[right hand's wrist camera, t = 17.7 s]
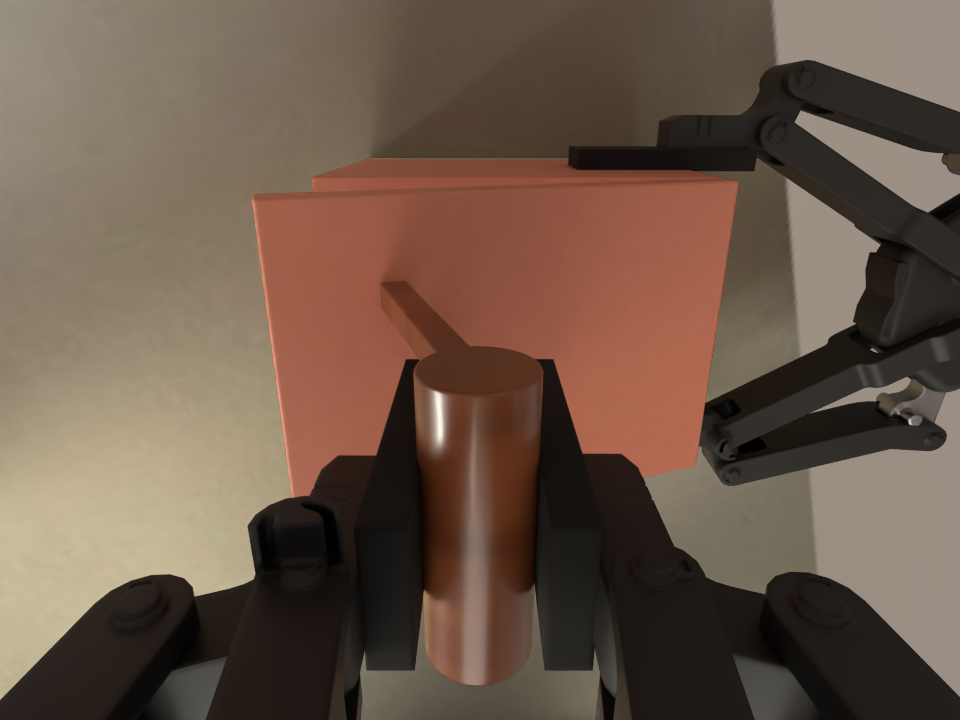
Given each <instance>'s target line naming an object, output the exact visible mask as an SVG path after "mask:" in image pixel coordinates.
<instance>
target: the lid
mask: <svg viewBox="0 0 960 720" xmlns="http://www.w3.org/2000/svg"><path fill="white" fill-rule="evenodd" d="M738 185H739V182H738V181H736V180H730V179H721V178H703V179H674V180H645V181H616V182H588V183H559V184H530V185H501V186H473V187H444V188H415V189H386V190H358V191H329V192H300V193H271V194H254V195H253V196H252V205H253V213H254V220H255V227H256V235H257V242H258V250H259V257H260V264H261V272H262V279H263V287H264V294H265V302H266V309H267V316H268V324H269V331H270V339H271V346H272V354H273V361H274V368H275V376H276V383H277V391H278V398H279V406H280V413H281V420H282V428H283V435H284V443H285V450H286V458H287V465H288V472H289V480H290V487H291V495H292V498H294V497H300V496H310V493H311V491H312V489H314V485H315V482H316V480H317V478H318V476H319V474H320V471H321V469H322V468H324V467H325V466H326V465H327V464H328V463H330V462H331V461H332V460H333V459H334V458H336V457H337V456H338V455H376V454H377V451H378V448H379V445H380V441H381V438H382V435H383V432H384V428H385V425H386V422H387V419H388V415H389V412H390V409H391V406H392V402H393V399H394V396H395V393H396V389H397V386H398V383H399V380H400V377H401V373H402V370H403V367H404V364H405V360H406V359H419V360H420V361H419V362H418V363H417V365H416V366H415V368H414V372H413V377H414V400H415V423H416V446H417V460H418V462H419V483H420V507H421V530H422V553H423V577H424V595H423V608H424V631H425V648H426V652H427V655H428V657H429V660H430V661H431V663H432V664H433V666H434V667H435V668H436V669H437V670H438V671H439V672H440V673H441V674H442V675H444V676H445V677H447V678H449V679H451V680H453V681H455V682H458V683H461V684H465V685H471V686H486V685H492V684H496V683H499V682H502V681H504V680H506V679H508V678H510V677H511V676H513V675H514V674H516V673H517V672H518V671H519V670H520V669H521V668H522V666H523V665H524V664H525V662H526V661H527V659H528V657H529V655H530V652H531V647H532V626H533V603H534V579H535V556H536V532H537V509H538V485H539V462H540V439H541V415H542V392H543V369H542V367H541V365H540V363H539V362H538V361H537V360H535V359H554V362H555V366H556V369H557V372H558V375H559V379H560V382H561V385H562V388H563V392H564V395H565V398H566V401H567V405H568V408H569V411H570V414H571V418H572V421H573V424H574V427H575V430H576V434H577V437H578V440H579V443H580V447H581V450H582V453H583V454H623V455H624V456H625V457H626V458H627V459H629V460H630V461H631V462H632V463H633V464H635V465H636V466H637V467H638V468H639V470H640V473H641V475H642V477H647V476H651V475H656V474H661V473H665V472H670V471H675V470H679V469H684V468H689V467H693V466H695V465H696V460H697V454H698V447H699V441H700V434H701V428H702V421H703V414H704V408H705V401H706V395H707V388H708V382H709V375H710V369H711V362H712V356H713V349H714V342H715V336H716V329H717V323H718V316H719V310H720V303H721V297H722V290H723V284H724V277H725V270H726V264H727V257H728V251H729V244H730V238H731V231H732V225H733V218H734V212H735V205H736V198H737V192H738Z"/></svg>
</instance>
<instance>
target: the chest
mask: <svg viewBox="0 0 960 720" xmlns="http://www.w3.org/2000/svg"><path fill="white" fill-rule="evenodd" d="M703 178H720V177H716V176H712V175H707V174H703V173H699V172H695V171H690V170H577V169H575V168H573V167H571V166H569V165H568V158H368V159H366V160H364V161H361V162H358V163H355V164H352V165H349V166H345V167H342V168H339V169H336V170H333V171H330V172H327V173H324V174H321V175H318V176H315V177H312V185H313V192H329V191H358V190H386V189H415V188H444V187H473V186H501V185H530V184H559V183H588V182H616V181H645V180H674V179H703Z"/></svg>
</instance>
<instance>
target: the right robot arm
mask: <svg viewBox="0 0 960 720" xmlns="http://www.w3.org/2000/svg"><path fill="white" fill-rule="evenodd" d="M535 360H537V361H538V362H539V363H540V365H541V367H542V369H543V392H542V415H541V439H540V462H539V485H538V509H537V532H536V556H535V579H534V583H535V592H536V600H537V609H538V617H539V626H540V634H541V643H542V651H543V660H544V668H545V670H593V659H594V649H595V651H596V656H597V660H598V665H599V669H600V680H599V690H598V700H597V710H596V720H960V697H959V696H958V695H957V694H956V693H955V692H954V691H953V690H952V689H951V688H950V687H949V686H948V685H947V684H946V683H945V681H943V679H942V678H940V676H939V675H938V674H937V673H936V672H935V671H934V670H933V669H932V668H931V667H930V666H929V665H928V664H927V663H926V662H925V661H924V660H923V659H922V658H921V657H920V656H919V655H918V654H917V653H916V652H915V651H914V650H913V649H912V648H911V647H910V646H909V645H908V644H907V643H906V642H905V641H904V640H903V639H902V638H901V637H900V636H899V635H898V634H897V633H896V632H895V631H894V630H893V629H892V628H891V627H890V626H889V625H888V624H887V623H886V622H885V621H884V620H883V619H882V618H881V617H880V616H879V615H878V614H877V613H876V612H875V611H874V609H872V608H871V606H870V605H869V604H868V603H867V602H866V601H864V600H863V599H862V598H861V597H859V596H858V595H857V594H856V593H854V592H853V591H852V590H851V589H849V588H848V587H845V586H844V585H841V584H839V583H837V582H835V581H833V580H831V579H829V578H826V577H822V576H819V575H815V574H811V573H804V572H788V573H784V574H781V575H777V576H775V577H774V578H773V579H772V580H771V581H770V582H769V583H768V584H767V588H766V593H765V594H761V593H757V592H752V591H748V590H744V589H739V588H735V587H731V586H727V585H724V584H721V583H717V582H715V581H713V580H710V579H708V578H706V576H705V573H704V572H703V570H702V569H701V567H700V565H699V564H698V562H697V561H696V560H695V559H694V558H692V557H691V556H690V555H689V554H687V553H686V552H685V551H683V550H681V549H679V548H676V547H674V545H673V543H672V541H671V538H670V536H669V534H668V532H667V530H666V527H665V525H664V523H663V521H662V519H661V516H660V514H659V512H658V510H657V508H656V505H655V503H654V501H653V500H652V497H651V495H650V492H649V490H648V488H647V487H646V486H645V481H644V479H643V477H642V475H641V473H640V470H639V468H638V467H637V466H636V465H635V464H633V463H632V462H631V461H630V460H629V459H627V458H626V457H625V456H624V455H623V454H583V453H582V450H581V447H580V443H579V440H578V437H577V434H576V430H575V427H574V424H573V421H572V418H571V414H570V411H569V408H568V405H567V401H566V398H565V395H564V392H563V388H562V385H561V382H560V379H559V375H558V372H557V369H556V366H555V362H554V359H535ZM419 361H420V360H419V359H406V360H405V364H404V367H403V370H402V373H401V377H400V380H399V383H398V386H397V389H396V393H395V396H394V399H393V402H392V406H391V409H390V412H389V415H388V419H387V422H386V425H385V428H384V432H383V435H382V438H381V441H380V445H379V448H378V451H377V454H376V455H338V456H337V457H336V458H334V459H333V460H332V461H331V462H330V463H328V464H327V465H326V466H325V467H324V468H322V469H321V471H320V474H319V476H318V478H317V480H316V482H315V485H314V489H312V491H311V493H310V496H300V497H294V498H287V499H284V500H282V501H279V502H276V503H274V504H271V505H269V506H268V507H266V508H265V509H263V510H262V511H260V512H259V513H257V514H256V515H255V516H254V518H253V519H252V521H251V522H250V523H249V525H248V532H249V538H250V543H251V549H252V555H253V561H254V567H255V573H256V574H255V577H254V580H252V581H250V582H248V583H246V584H243V585H240V586H237V587H233V588H230V589H226V590H222V591H218V592H213V593H209V594H205V595H200V596H196V597H195V596H194V592H193V587H192V586H191V585H190V584H189V583H188V582H187V581H186V580H185V579H184V578H181V577H177V576H174V575H170V574H168V575H150V576H147V577H143V578H139V579H136V580H132V581H130V582H128V583H126V584H124V585H122V586H120V587H118V588H116V589H114V590H112V591H110V592H109V593H108V594H106V595H105V596H104V597H103V598H101V599H100V600H99V601H98V602H96V603H95V604H94V605H93V606H92V607H91V608H90V609H89V610H88V611H87V612H86V613H85V614H84V615H83V616H82V617H81V618H80V619H79V620H78V621H77V622H76V623H75V624H74V625H73V626H72V627H71V628H70V629H69V630H68V632H67V633H66V634H65V635H64V636H63V637H62V638H61V639H60V640H59V641H58V642H57V643H56V644H55V645H54V646H53V647H52V648H51V649H50V650H49V651H48V652H47V653H46V654H45V655H44V656H43V657H42V658H41V659H40V660H39V661H38V662H37V663H36V664H35V665H34V666H33V667H32V668H31V669H30V670H29V671H28V672H27V673H26V674H25V675H24V676H23V677H22V678H21V679H20V681H19V682H18V683H17V684H16V685H15V686H14V687H13V688H12V689H11V690H10V691H9V692H8V693H7V694H6V695H5V696H4V697H3V698H2V699H1V700H0V720H361V709H362V690H361V680H360V669H361V665H362V660H363V655H364V651H365V656H366V666H367V670H415V663H416V654H417V646H418V637H419V629H420V620H421V612H422V603H423V595H424V577H423V553H422V530H421V507H420V483H419V462H418V460H417V446H416V423H415V400H414V377H413V372H414V368H415V366H416V365H417V363H418V362H419Z"/></svg>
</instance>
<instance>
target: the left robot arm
mask: <svg viewBox="0 0 960 720" xmlns="http://www.w3.org/2000/svg"><path fill="white" fill-rule="evenodd" d="M759 87H760V91H759V93H758V95H757V97H756V99H755V101H754V103H753V104H752V106H751V107H750V108H749V109H748V110H747V111H746V112H744V113H742V114H740V115H677V116H671V117H668V118H666V119H663V120H661V121H659V131H658V140H657V147H653V146H569V158H568V165H569V166H571V167H573V168H575V169H577V170H690V171H754V169H755V163H756V157H757V158H759V159H760V160H761V161H763V162H764V163H766V164H767V165H769V166H770V167H772V168H773V169H775V170H776V171H778V172H779V173H781V174H782V175H783V176H785V177H786V178H788V179H789V180H791V181H792V182H794V183H795V184H797V185H798V186H800V187H801V188H803V189H804V190H806V191H807V192H808V193H810V194H811V195H813V196H814V197H816V198H817V199H819V200H820V201H822V202H823V203H824V204H826V205H827V206H829V207H830V208H832V209H833V210H835V211H836V212H838V213H839V214H841V215H842V216H844V217H845V218H847V219H848V220H849V221H851V222H852V223H854V224H855V227H856V228H857V229H859V230H860V231H862V232H863V233H865V234H866V235H868V236H869V237H871V238H872V239H873V240H875V241H876V242H878V243H879V244H881V245H880V247H879V248H878V250H877V252H870V253H869V257H868V261H867V266H866V270H865V271H866V289H865V291H864V293H863V295H862V297H861V298H860V300H859V302H858V304H857V307H856V311H855V315H854V320H853V322H854V323H856V324H855V325H853V326H851V327H849V328H847V329H845V330H843V331H841V332H839V333H837V334H834V335H833V336H831V337H830V338H829V339H828V343H827V344H826V345H825V346H823V347H821V348H819V349H817V350H815V351H813V352H811V353H809V354H806V355H804V356H802V357H800V358H798V359H796V360H794V361H792V362H790V363H788V364H786V365H784V366H781V367H779V368H777V369H775V370H773V371H771V372H769V373H767V374H765V375H763V376H761V377H759V378H757V379H754V380H752V381H750V382H748V383H746V384H744V385H742V386H740V387H738V388H736V389H734V390H732V391H730V392H727V393H725V394H723V395H721V396H719V397H717V398H715V399H713V400H711V401H709V402H707V403H705V408H704V414H703V421H702V428H701V434H700V441H699V446H701V447H702V453H703V455H704V456H705V458H706V459H707V461H708V462H709V464H710V465H711V467H712V468H713V470H714V472H715V473H716V475H717V476H718V478H719V479H720V481H721V482H722V483H723V484H725V485H728V486H735V485H739V484H743V483H748V482H752V481H756V480H760V479H765V478H769V477H773V476H778V475H782V474H786V473H790V472H795V471H799V470H803V469H807V468H812V467H816V466H820V465H824V464H829V463H833V462H837V461H841V460H846V459H850V458H854V457H858V456H862V455H867V454H871V453H875V452H880V451H884V450H888V449H901V450H918V451H933V450H936V449H938V448H940V447H941V446H942V445H943V444H944V442H945V441H946V437H947V434H946V431H945V430H943V429H942V428H941V427H939V426H938V425H936V424H935V420H936V417H937V414H938V412H939V409H940V407H941V404H942V401H943V399H944V396H945V393H946V392H951V391H955V390H957V389H960V194H958V195H956V196H954V197H953V198H951V199H950V200H948V201H946V202H945V203H943V204H941V205H940V206H938V207H936V208H935V209H933V210H932V211H930V212H928V213H927V212H925V211H923V210H920V209H918V208H916V207H914V206H912V205H911V204H909V203H908V202H906V201H905V200H904V199H902V198H900V197H899V196H898V195H896V194H895V193H894V192H892V191H891V190H889V189H888V188H886V187H885V186H884V185H882V184H881V183H879V182H878V181H877V180H875V179H874V178H872V177H871V176H869V175H868V174H867V173H865V172H864V171H862V170H861V169H860V168H858V167H857V166H855V165H854V164H852V163H851V162H850V161H848V160H847V159H845V158H844V157H843V156H841V155H840V154H838V153H837V152H835V151H834V150H833V149H831V148H830V147H828V146H827V145H826V144H824V143H823V142H821V141H820V140H818V139H817V138H816V137H814V136H813V135H811V134H810V133H808V132H807V131H806V130H804V129H803V128H801V127H800V126H799V125H797V124H796V123H794V122H795V120H796V118H797V116H798V114H799V112H800V110H801V111H804V112H807V113H810V114H813V115H816V116H819V117H822V118H825V119H828V120H830V121H833V122H836V123H839V124H842V125H845V126H848V127H851V128H854V129H857V130H860V131H863V132H866V133H869V134H872V135H875V136H877V137H880V138H883V139H886V140H889V141H892V142H895V143H898V144H901V145H904V146H907V147H909V148H913V149H916V150H920V151H925V152H933V153H944V154H943V157H942V162H943V164H945V165H947V168H948V170H949V171H950V172H951V173H953V174H957V175H960V112H958V111H955V110H952V109H950V108H947V107H944V106H941V105H938V104H935V103H932V102H930V101H927V100H924V99H921V98H918V97H915V96H913V95H910V94H907V93H904V92H901V91H898V90H895V89H893V88H890V87H887V86H884V85H881V84H878V83H876V82H873V81H870V80H867V79H864V78H861V77H858V76H856V75H853V74H850V73H847V72H844V71H841V70H839V69H836V68H833V67H830V66H827V65H824V64H821V63H819V62H816V61H811V60H805V61H799V62H794V63H789V64H784V65H778V66H774V67H771V68H769V69H768V70H767V71H765V72H764V74H763V75H762V77H761V79H760V83H759ZM872 348H873V349H875V350H876V351H877V352H878V353H876V352H873V351H871V350H870V349H872ZM905 377H909V378H910V379H912V380H911V382H910V384H909V386H908V387H907V388H906V389H904V390H903V391H901V392H898V393H892V394H887V393H881V394H879V395H878V396H877V399H876V401H877V402H872V401H871V402H870V401H867V402H857V403H852V404H847V405H843V406H839V407H834V408H831V409H826V410H822V411H818V412H814V413H811V412H813V411H815V410H818V409H820V408H822V407H824V406H826V405H828V404H831V403H833V402H835V401H837V400H839V399H841V398H843V397H846V396H848V395H850V394H852V393H854V392H857V391H859V390H861V389H863V388H866V387H874V388H879V387H884V386H887V385H890V384H892V383H894V382H896V381H898V380H900V379H903V378H905ZM809 413H810V414H809Z"/></svg>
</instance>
